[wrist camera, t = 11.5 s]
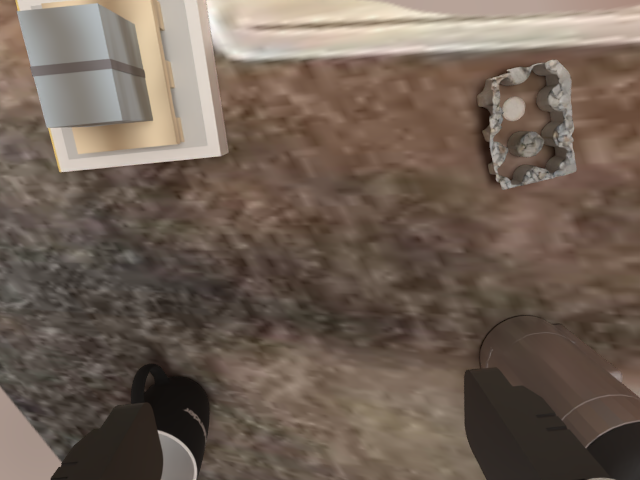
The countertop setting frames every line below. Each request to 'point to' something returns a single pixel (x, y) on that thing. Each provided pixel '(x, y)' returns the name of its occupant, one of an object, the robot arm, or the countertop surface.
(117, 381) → the countertop surface
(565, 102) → the egg carton
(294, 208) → the countertop surface
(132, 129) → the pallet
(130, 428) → the robot arm
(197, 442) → the mug
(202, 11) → the dock
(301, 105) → the countertop surface
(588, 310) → the countertop surface
